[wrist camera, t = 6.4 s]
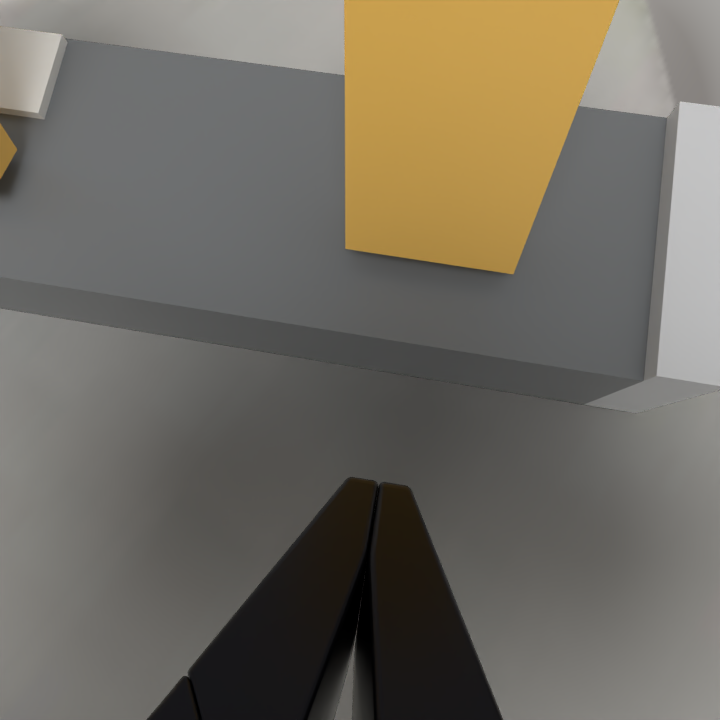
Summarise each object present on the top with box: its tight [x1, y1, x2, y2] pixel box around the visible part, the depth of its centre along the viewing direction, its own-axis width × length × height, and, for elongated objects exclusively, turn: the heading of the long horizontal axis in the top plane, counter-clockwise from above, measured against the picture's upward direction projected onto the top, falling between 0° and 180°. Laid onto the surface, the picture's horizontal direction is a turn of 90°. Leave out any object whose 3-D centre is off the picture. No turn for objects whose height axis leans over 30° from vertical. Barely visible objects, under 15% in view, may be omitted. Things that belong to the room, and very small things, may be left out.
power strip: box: [0, 26, 720, 413], centre depth 18 cm, size 7×26×5 cm, turn 80°
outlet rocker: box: [344, 0, 619, 274], centre depth 11 cm, size 2×4×8 cm, turn 80°
